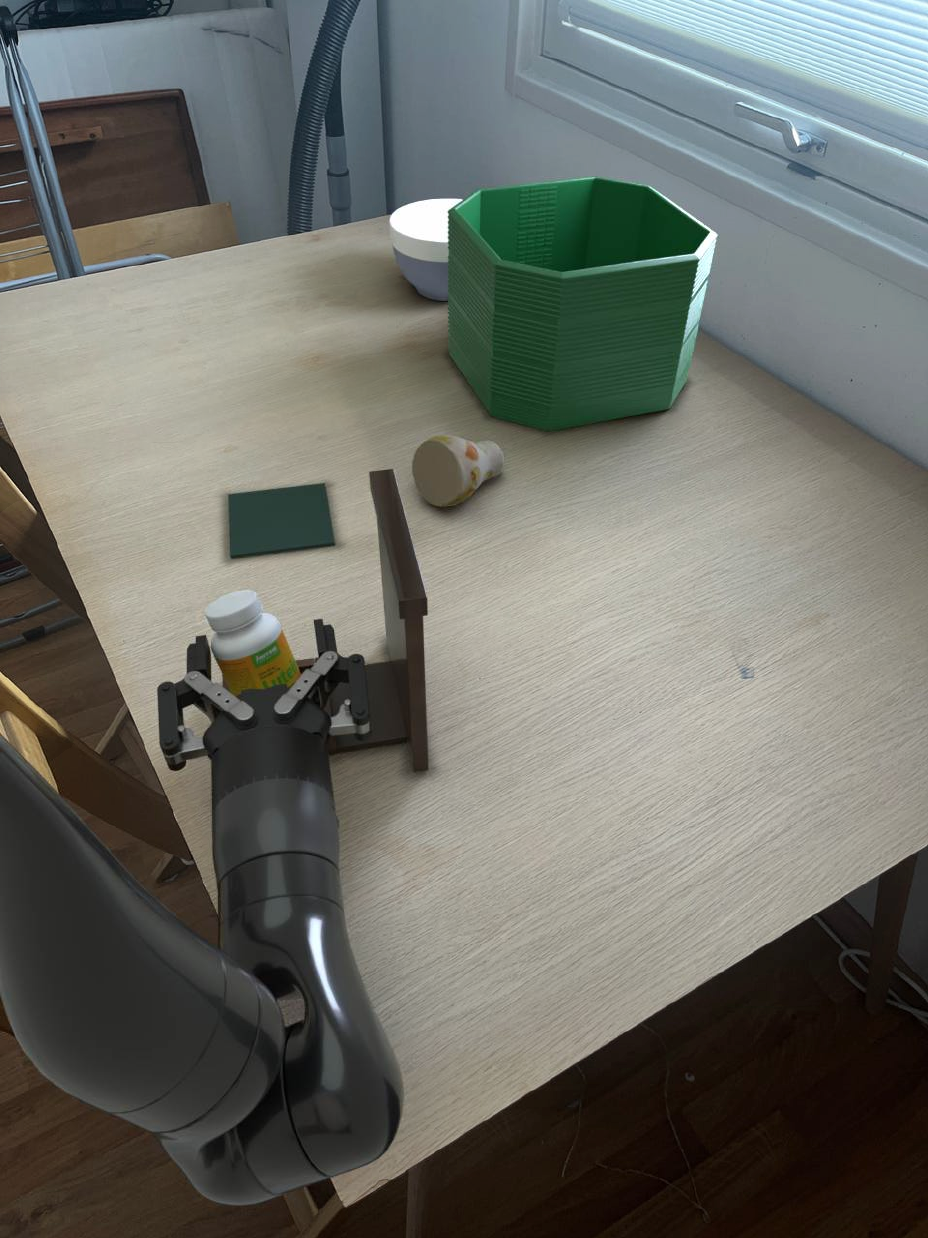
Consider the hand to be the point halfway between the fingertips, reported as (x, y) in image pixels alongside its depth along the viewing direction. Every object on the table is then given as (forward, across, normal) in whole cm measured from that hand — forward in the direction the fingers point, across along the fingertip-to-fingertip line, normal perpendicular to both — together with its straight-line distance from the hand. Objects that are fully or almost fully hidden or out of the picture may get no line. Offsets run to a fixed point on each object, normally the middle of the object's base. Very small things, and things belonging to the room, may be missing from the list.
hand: (261, 634), depth 65 cm
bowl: (+74, -29, +8) cm, 80 cm away
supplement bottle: (-2, 0, +7) cm, 7 cm away
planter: (+48, -39, +8) cm, 62 cm away
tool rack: (-2, -4, +8) cm, 9 cm away
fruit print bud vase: (+26, -21, +8) cm, 34 cm away
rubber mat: (+24, -2, +8) cm, 26 cm away
